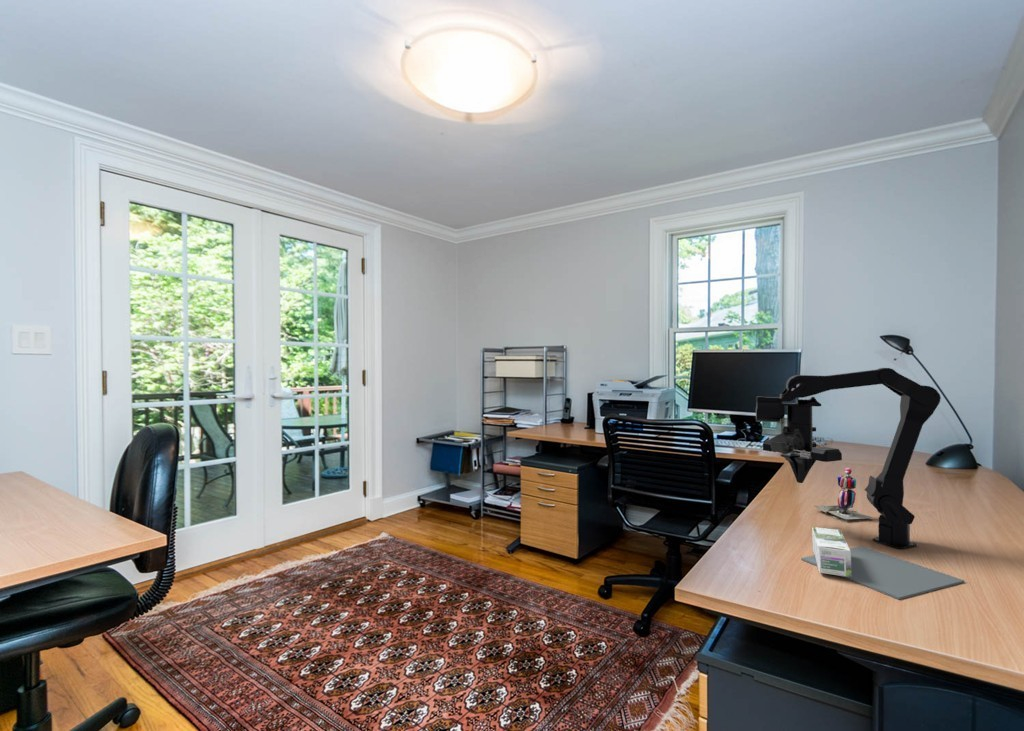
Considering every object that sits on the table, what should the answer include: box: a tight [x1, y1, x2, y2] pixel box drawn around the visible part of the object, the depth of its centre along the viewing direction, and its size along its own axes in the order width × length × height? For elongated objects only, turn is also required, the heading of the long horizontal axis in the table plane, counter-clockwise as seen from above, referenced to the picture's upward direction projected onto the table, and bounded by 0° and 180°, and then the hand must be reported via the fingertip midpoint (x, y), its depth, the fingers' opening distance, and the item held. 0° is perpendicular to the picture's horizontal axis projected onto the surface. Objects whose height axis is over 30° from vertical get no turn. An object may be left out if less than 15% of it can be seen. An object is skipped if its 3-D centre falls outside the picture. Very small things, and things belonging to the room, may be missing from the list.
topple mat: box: [800, 545, 965, 600], centre depth 103 cm, size 20×20×1 cm
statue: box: [814, 467, 873, 523], centre depth 140 cm, size 11×9×15 cm
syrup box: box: [811, 526, 852, 577], centre depth 105 cm, size 6×6×14 cm
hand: (800, 482), depth 127 cm, fingers closed
